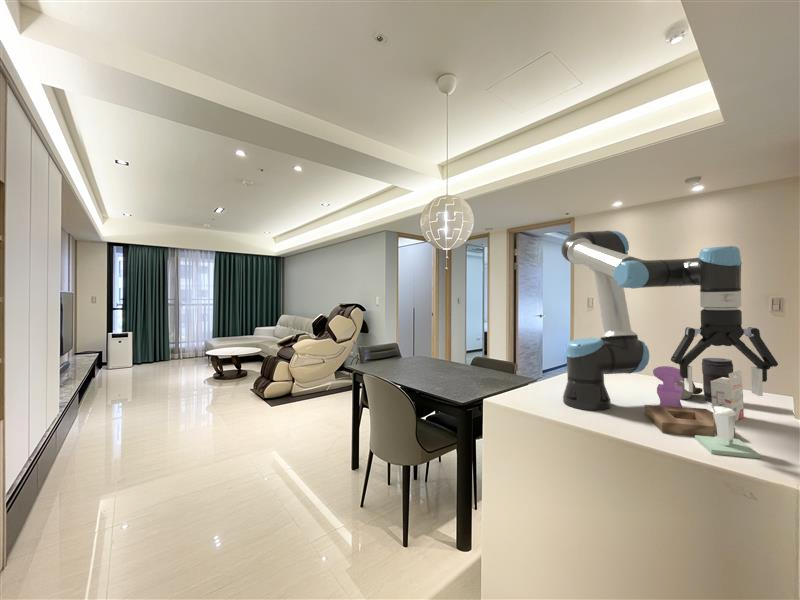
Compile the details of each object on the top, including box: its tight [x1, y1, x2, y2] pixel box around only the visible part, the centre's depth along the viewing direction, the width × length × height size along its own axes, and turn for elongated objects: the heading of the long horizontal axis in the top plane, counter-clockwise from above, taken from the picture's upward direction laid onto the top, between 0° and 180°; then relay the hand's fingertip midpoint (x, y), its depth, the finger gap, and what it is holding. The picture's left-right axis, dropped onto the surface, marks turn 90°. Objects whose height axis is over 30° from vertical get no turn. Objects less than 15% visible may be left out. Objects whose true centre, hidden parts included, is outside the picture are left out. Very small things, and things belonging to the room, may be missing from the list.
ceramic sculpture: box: [675, 378, 704, 400], centre depth 128 cm, size 11×9×15 cm
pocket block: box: [644, 404, 736, 439], centre depth 101 cm, size 16×16×3 cm
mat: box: [694, 435, 761, 459], centre depth 85 cm, size 9×9×1 cm
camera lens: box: [701, 357, 734, 404], centre depth 120 cm, size 8×8×15 cm
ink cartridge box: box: [710, 370, 745, 422], centre depth 105 cm, size 9×5×15 cm, turn 117°
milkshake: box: [710, 404, 736, 446], centre depth 86 cm, size 5×5×10 cm
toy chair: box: [652, 365, 683, 407], centre depth 114 cm, size 8×9×15 cm
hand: (721, 392), depth 86 cm, fingers open, 13 cm apart
